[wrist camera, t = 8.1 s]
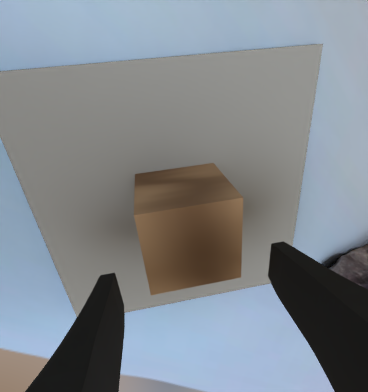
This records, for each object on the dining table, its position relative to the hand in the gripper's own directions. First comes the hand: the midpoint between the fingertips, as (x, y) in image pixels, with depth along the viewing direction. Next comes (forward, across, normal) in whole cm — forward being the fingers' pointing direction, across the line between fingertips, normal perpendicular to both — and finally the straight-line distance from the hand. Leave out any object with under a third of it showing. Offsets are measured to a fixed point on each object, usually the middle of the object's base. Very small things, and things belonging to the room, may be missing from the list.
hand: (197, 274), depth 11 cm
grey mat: (+7, 0, 0) cm, 7 cm away
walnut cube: (+6, 0, 0) cm, 6 cm away
